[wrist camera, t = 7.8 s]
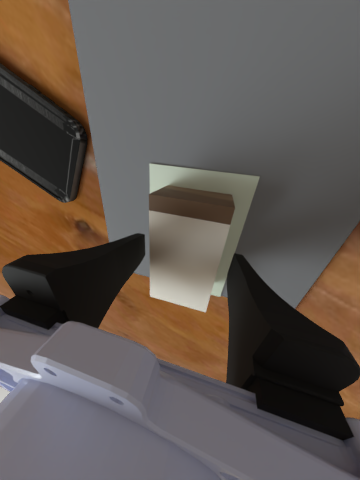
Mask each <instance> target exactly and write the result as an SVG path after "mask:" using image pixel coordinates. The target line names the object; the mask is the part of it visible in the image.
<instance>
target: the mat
mask: <svg viewBox="0 0 360 480" xmlns="http://www.w3.org/2000/svg"><path fill="white" fill-rule="evenodd" d="M68 2H69V8H70V13H71V19H72V25H73V31H74V37H75V43H76V49H77V55H78V60H79V66H80V72H81V78H82V84H83V90H84V96H85V102H86V108H87V113H88V119H89V125H90V131H91V137H92V143H93V149H94V155H95V161H96V166H97V172H98V178H99V184H100V190H101V196H102V202H103V208H104V214H105V219H106V225H107V231H108V237H109V243H110V242H113V241H116V240H119V239H121V238H124V237H127V236H130V235H133V234H136V233H140V234H145V256H144V258H143V260H142V262H141V263H140V265H139V266H138V267H137V269H136V270H135V271H134V272H133V273H136V274H140V275H143V276H147V277H150V254H149V194H150V169H149V164H159V165H167V166H176V167H184V168H193V169H201V170H209V171H218V172H226V173H235V174H243V175H252V176H259V177H260V178H259V181H258V184H257V187H256V190H255V193H254V196H253V199H252V202H251V205H250V208H249V211H248V214H247V217H246V220H245V223H244V226H243V229H242V232H241V235H240V238H239V241H238V244H237V248H236V251H235V253H236V254H241V255H243V256H244V257H245V258H246V260H247V261H248V262H249V264H250V265H251V266H252V268H253V269H254V270H255V271H256V273H257V274H258V275H259V276H260V277H261V278H262V279H263V281H264V282H265V283H266V284H267V285H268V286H269V287H270V288H271V289H272V290H273V291H274V292H275V293H276V294H278V295H279V296H280V297H281V298H282V299H283V300H284V301H286V302H287V303H288V304H289V305H291V306H292V307H293V308H294V309H295V308H296V306H297V305H298V304H299V302H300V301H301V300H302V298H303V297H304V296H305V294H306V293H307V292H308V290H309V289H310V288H311V286H312V285H313V283H314V282H315V281H316V279H317V278H318V277H319V275H320V274H321V273H322V271H323V270H324V269H325V267H326V266H327V265H328V263H329V262H330V261H331V259H332V258H333V256H334V255H335V254H336V252H337V251H338V250H339V248H340V247H341V246H342V244H343V243H344V242H345V240H346V239H347V238H348V236H349V235H350V234H351V232H352V231H353V229H354V228H355V227H356V225H357V224H358V223H359V221H360V0H68ZM221 296H224V297H228V296H227V278H226V281H225V284H224V287H223V290H222V293H221Z"/></svg>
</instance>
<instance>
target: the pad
mask: <svg viewBox="0 0 360 480" xmlns="http://www.w3.org/2000/svg"><path fill="white" fill-rule="evenodd" d="M149 169H150V193H152V192H154V191H157V190H159V189H161V188H163V187H165V186H167V185H169V186H176V187H183V188H190V189H197V190H204V191H210V192H217V193H224V194H231V195H232V197H233V201H234V205H235V210H234V214H233V217H232V221H231V224H230V228H229V232H228V235H227V239H226V242H225V246H224V249H223V253H222V256H221V260H220V263H219V267H218V270H217V274H216V277H215V281H214V285H213V288H212V292H211V295H214V296H218V297H220V296H221V293H222V290H223V287H224V284H225V281H226V278H227V273H228V270H229V267H230V264H231V261H232V258H233V255H234V253H235V251H236V248H237V244H238V241H239V238H240V235H241V232H242V229H243V226H244V223H245V220H246V217H247V214H248V211H249V208H250V205H251V202H252V199H253V196H254V193H255V190H256V187H257V184H258V181H259V178H260V177H259V176H252V175H243V174H235V173H226V172H218V171H209V170H201V169H193V168H184V167H176V166H167V165H159V164H149Z"/></svg>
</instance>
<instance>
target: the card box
mask: <svg viewBox="0 0 360 480" xmlns="http://www.w3.org/2000/svg"><path fill="white" fill-rule="evenodd" d="M234 210H235V205H234V201H233V197H232V195H231V194H224V193H217V192H210V191H204V190H197V189H190V188H183V187H176V186H169V185H167V186H165V187H163V188H161V189H159V190H157V191H154V192H152V193H150V194H149V254H150V297H154V298H157V299H161V300H164V301H168V302H171V303H175V304H178V305H182V306H185V307H189V308H192V309H196V310H199V311H203V312H206V309H207V306H208V302H209V299H210V295H211V292H212V288H213V285H214V281H215V277H216V274H217V270H218V267H219V263H220V260H221V256H222V253H223V249H224V246H225V242H226V239H227V235H228V232H229V228H230V224H231V221H232V217H233V214H234Z"/></svg>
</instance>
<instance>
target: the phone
mask: <svg viewBox="0 0 360 480" xmlns="http://www.w3.org/2000/svg"><path fill="white" fill-rule="evenodd" d="M86 147H87V134H86V132H85V129H84V127H83V126H82V124H81V123H80V122H79V121H78V120H76V119H75V118H73V117H72V116H71V115H69V114H68V113H67V112H66V111H65V110H63V109H62V108H60V107H59V106H57V105H56V104H55V103H54V102H53V101H52V100H50V99H49V98H47V97H46V96H45V95H43V94H41V92H40V91H38V90H37V89H36V88H34V87H33V86H32V85H30V84H28V83H26V82H25V81H24V80H22V79H21V78H19V77H18V76H17V75H15V74H14V73H13V72H11V71H10V70H9V69H7V68H6V67H5V66H3V65H2V64H1V63H0V160H1V161H2V162H4V163H5V164H6V165H8V166H9V167H11V168H12V169H14V170H15V171H17V172H18V173H20V174H21V175H22V176H24V177H25V178H27V179H28V180H30V181H31V182H33V183H34V184H36V185H37V186H39V187H40V188H41V189H43V190H44V191H46V192H47V193H49V194H50V195H52V196H53V197H55V198H56V199H57V200H59V201H61V202H64V203H66V202H70V201H73V200H75V199H76V196H77V192H78V187H79V182H80V177H81V172H82V167H83V162H84V157H85V152H86Z"/></svg>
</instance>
